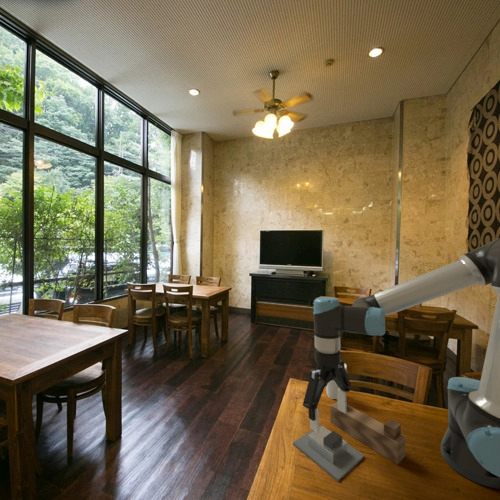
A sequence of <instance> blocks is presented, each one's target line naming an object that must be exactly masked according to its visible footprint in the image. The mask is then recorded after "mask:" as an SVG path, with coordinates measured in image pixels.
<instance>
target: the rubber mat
mask: <svg viewBox="0 0 500 500" xmlns="http://www.w3.org/2000/svg"><path fill="white" fill-rule="evenodd" d="M321 426H322V425H320V424H319V427H321ZM313 431H314V430H312V429H311V430H310V431H308V432H306V433H305V434H304V435H302V436H301V437H299V438H297V439H295V440H294V441H293V442H292V445H293V446H294V447H296V448H297V449H298V450H299V451H300V452H302V454H304V455H305V456H307V458H309V459H310V460H311V461H312V462H314V463H315V465H317V466H319V467H320V468H321V469H322V470H323V471H325V472H326V473H327V474H328V475H329V476H331V478H333V479H334V480H335V481H337V482H338V481H339V482H340V481H341V480H342V479H343V478H344V477H345V476H347V474H349V473H350V472H351V471H352V470H353V469H354V468H355V467H356V466H357V465H358V464H359V463H360V462H361V461H362V460H364V458H365V454H363V453H362V452H360V451H359V450H357V449H355V448H354V447H352V446H351V445H350V444H349V443H347V453H346V454H345V455H344V456H343V457H342V458H340V459H339V460H338V461H337V462H336V463H334V464H332V463H331V462H329V461H328V460H327V459H325V458H324V457H323V456H322V455H320V454H319V453H318V452H316V451H315V450H314V449H313V448H311V447H310V446H309V445H308V435H309V434H310V433H312V432H313ZM342 477H343V478H342ZM341 478H342V479H341ZM340 479H341V480H340Z"/></svg>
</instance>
